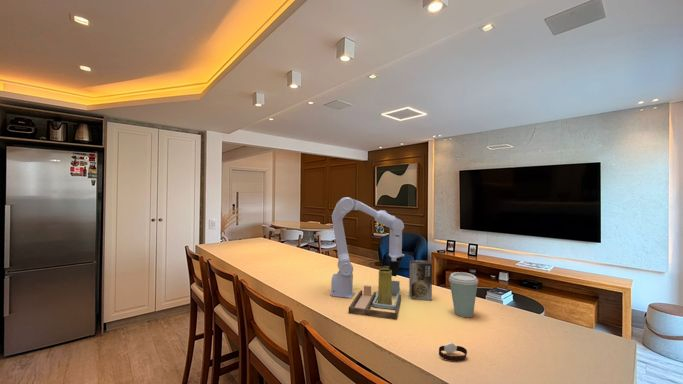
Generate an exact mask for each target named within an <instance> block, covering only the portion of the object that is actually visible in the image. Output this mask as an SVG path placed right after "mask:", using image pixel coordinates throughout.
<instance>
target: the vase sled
mask: <svg viewBox="0 0 683 384" xmlns="http://www.w3.org/2000/svg"><path fill="white" fill-rule="evenodd" d="M400 282H401V281H400V280H392V296H393V295H395V300H394V304H392V305H386V304H378V303H377V302H378V292H376V297H375V299H374V301H373V303H372V306H371V308H380V309H388V310H389V309H390V310H394V311H395V310H396V306H397V302H398V298H399V295H400V286H401V285H400V284H401V283H400Z"/></svg>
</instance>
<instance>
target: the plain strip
mask: <svg viewBox="0 0 683 384" xmlns="http://www.w3.org/2000/svg"><path fill="white" fill-rule="evenodd" d="M372 295H373V294H372V285H367V284H364V286H363V293H362V296H361V297H360V299H359V300H358V302H357V304H356V305H355V307H356V308H363V309H365V308H366V306H367V304H368V303H369V301H370V299H371V297H372Z"/></svg>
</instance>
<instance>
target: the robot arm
mask: <svg viewBox="0 0 683 384" xmlns="http://www.w3.org/2000/svg"><path fill="white" fill-rule="evenodd" d="M351 211H360V212H363V213H365V214H367V215H369V216H370V217H373V218H374V220H375V222H377V223H378V224H381V225H382V226H385V227H387V228H389V241H388V242H389V244H388V245H389V246H388V256H389V258H390V259H387V263H388V265H389V268H390V269H389V270H392V277H397V276H398V272H399V269H400V264H401V262H402V259H403V257H405V254H404V253H403V251H402V249H403V230H404V229H405V224H404V222H403V220H402V219H399V218H397V217H396V216H395V215H394V214H393V215H391V214H389V213H388V212H387V211H386V210H385V209H384V210H382V209H380V210H376V209H374V208H373V207H370V206H369V205H367V204H365V203H363V202H362V201H359V200H357V199H354V198H351V197H348V196H346V197H342V198H341V199H340V200H338V201H337V202H336V205H335V207H334V209H333V212H332V214H331V220H332V221H331V222H332V227H333V233H334V239H335V244H336V250H337V256H338V257H337V258H338V261H337V268H338V271H337V273H333V274H332V277H331V285H330V296H332V297H338V298H346V299H351V298H353V296H354V295H355V293H356V292H355V291H354V290H353V287H354V286H353V283H354V277H353V276H354V273H353V271H354V266H353V264H352V263H351V260H350V255H349V251H348V245H347V240H346V234H345V227H344V222H343V219H344V217H345V216H346V215H347V214H348V213H349V212H351Z"/></svg>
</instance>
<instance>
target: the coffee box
mask: <svg viewBox="0 0 683 384" xmlns="http://www.w3.org/2000/svg"><path fill="white" fill-rule="evenodd" d="M408 282H409V283H408V285H409V286H408V287H409V289H408V293H409V294H408V295H409V298H410V299H411V300H415V301H417V300H418V301H419V300H420V301H432V300H433V299H432V298H433V287H432V286H433V263H432V262H431V261H430V260H420V259H419V260H417V259H412V260H411V259H410V260H409V280H408Z"/></svg>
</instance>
